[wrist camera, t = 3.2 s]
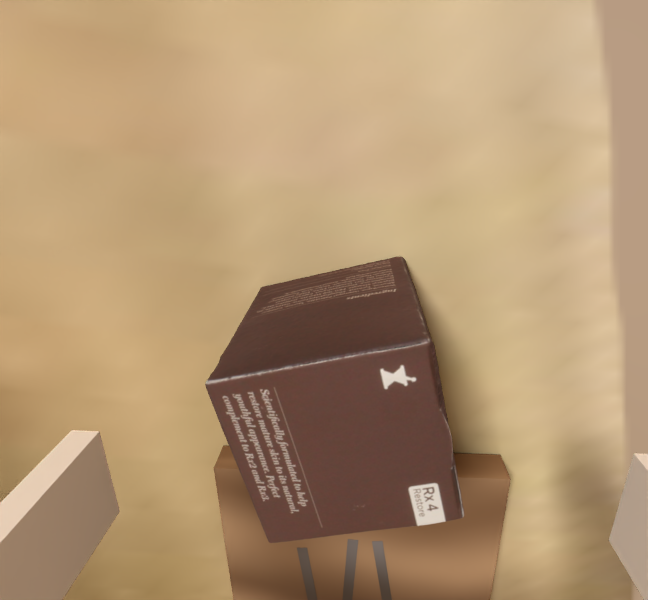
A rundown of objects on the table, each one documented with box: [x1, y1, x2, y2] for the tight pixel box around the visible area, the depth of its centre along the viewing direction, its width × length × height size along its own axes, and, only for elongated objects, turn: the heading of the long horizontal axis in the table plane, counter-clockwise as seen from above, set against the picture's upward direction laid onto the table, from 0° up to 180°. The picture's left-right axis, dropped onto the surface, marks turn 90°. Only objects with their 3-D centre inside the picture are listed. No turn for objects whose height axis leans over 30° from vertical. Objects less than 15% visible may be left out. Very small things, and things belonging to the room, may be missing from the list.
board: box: [214, 446, 511, 600], centre depth 23 cm, size 16×13×2 cm
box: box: [205, 257, 464, 543], centre depth 15 cm, size 6×6×7 cm
